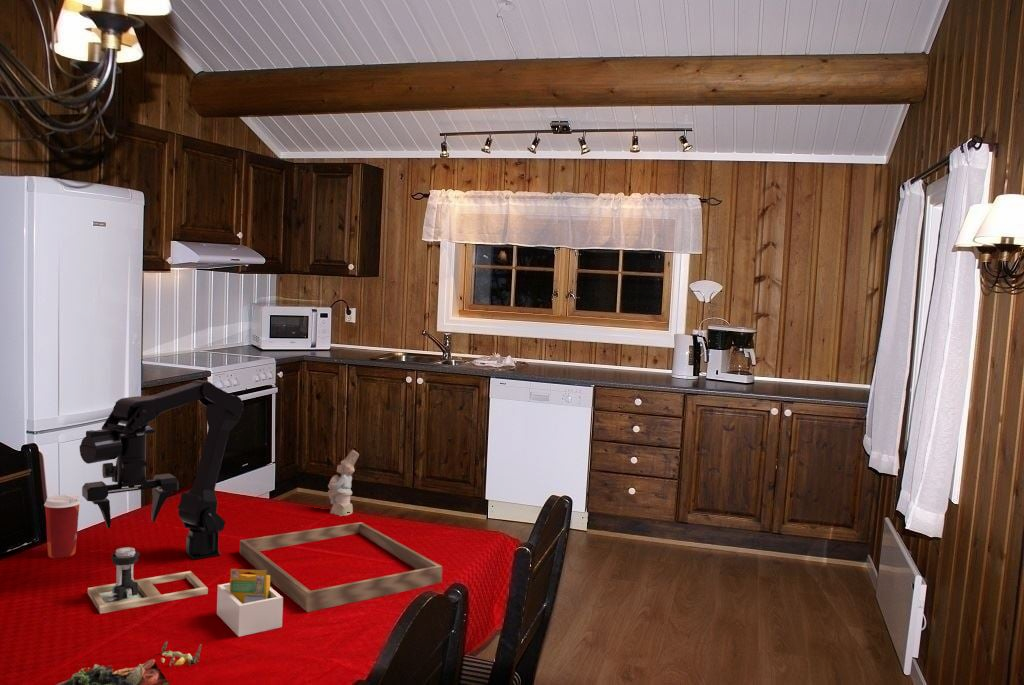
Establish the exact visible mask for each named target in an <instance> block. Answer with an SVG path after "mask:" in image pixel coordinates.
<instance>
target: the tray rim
mask: <svg viewBox="0 0 1024 685" xmlns="http://www.w3.org/2000/svg"><path fill="white" fill-rule="evenodd" d="M356 534H360V535H362V536H364V537H365V538H366V539H369V540H370V541H371V542H373V543H374V544H376V545H378V546H379V547H381V548H382V549H384V550H385V551H387V552H389V553H390V554H392V555H393V556H395V557H397V559H399V560H401V561H403V563H406V564H407V565H408V566H411V567H412V568H413V569H414V570H409V571H403V572H398V573H394V574H389V575H383V576H379V577H373V578H369V579H364V580H363V579H362V580H359V581H358V580H357V581H354V582H353V581H352V582H348V583H343V584H339V585H333V586H328V587H321V588H319V589H317V588H316V589H314V590H310V589H309V588H308V587H306V586H305V585H304V584H302V583H301V582H300V581H298V580H297V579H296V578H294V577H293V576H292V575H290V574H289V573H288V572H287V571H285V570H284V569H283V568H281V567H280V565H278V564H276V563H275V562H274V561H273V560H271V559H270V557H267V556H266V555H265V554H263V553H262V552H263V551H269V550H274V549H278V548H284V547H285V548H286V547H290V546H295V545H301V544H306V543H311V542H312V543H313V542H317V541H322V540H324V541H325V540H328V539H333V538H339V537H344V536H349V535H350V536H351V535H356ZM239 554H240V556H242V557H243V558H244V559H245V560H246V561H248V563H250V565H252V566H253V567H254V568H255V570H267V574H266V575H270V583H271V584H273V585H274V586H275V587H276V588H277V589H279V590H280V591H281V592H282V593H283V594H284V595H285V596H287V597H289V598H290V599H291V601H293V602H294V603H296V604H297V605H298V606H299V607H301V608H302V609H303V611H306V613H310V612H315V611H318V610H319V611H320V610H323V609H328V608H329V609H330V608H333V607H338V606H343V605H347V604H352V603H356V602H360V601H361V602H362V601H366V600H370V599H374V598H375V599H376V598H380V597H385V596H390V595H393V594H398V593H402V592H407V591H412V590H415V589H420V588H424V587H427V586H432V585H437V584H440V583H442V581H443V566H442V565H440V564H439V563H437V562H435V561H433V560H431V559H430V558H428V557H426V556H424V555H423V554H420V553H419V552H416V551H415V550H413V549H411V548H409V547H408V546H406V545H404V544H402V543H400V542H399V541H397V540H395V539H393V538H391V537H389V536H388V535H386V534H384V533H382V532H381V531H379V530H377V529H375V528H373V527H371V526H370V525H368V524H366V523H364V522H361V521H360V522H353V523H346V524H339V525H334V526H328V527H319V528H313V529H306V530H301V531H292V532H287V533H279V534H274V535H265V536H261V537H253V538H247V539H240V540H239Z"/></svg>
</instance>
